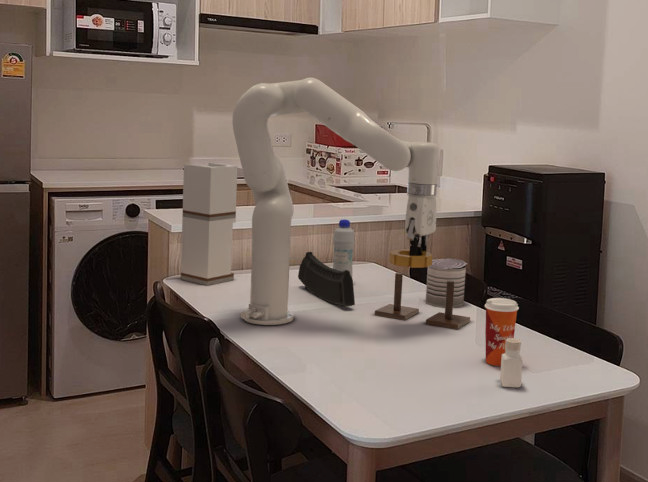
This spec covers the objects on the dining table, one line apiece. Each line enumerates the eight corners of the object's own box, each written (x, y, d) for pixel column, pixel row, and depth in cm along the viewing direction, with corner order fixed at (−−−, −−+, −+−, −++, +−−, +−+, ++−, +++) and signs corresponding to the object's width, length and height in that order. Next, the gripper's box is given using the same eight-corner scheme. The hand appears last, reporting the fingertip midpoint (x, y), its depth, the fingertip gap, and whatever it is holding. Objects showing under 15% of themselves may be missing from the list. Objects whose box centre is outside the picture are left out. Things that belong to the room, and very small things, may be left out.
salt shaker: (518, 381, 174) (521, 338, 173) (521, 388, 170) (524, 343, 169) (499, 381, 173) (502, 337, 173) (501, 387, 169) (504, 342, 169)
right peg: (457, 329, 211) (460, 286, 210) (425, 323, 214) (428, 281, 213) (470, 321, 219) (472, 280, 218) (438, 316, 223) (441, 275, 222)
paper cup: (487, 368, 181) (491, 306, 180) (476, 357, 189) (480, 297, 187) (520, 367, 184) (524, 305, 182) (508, 356, 191) (512, 297, 190)
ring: (420, 269, 202) (421, 259, 202) (383, 263, 206) (383, 253, 206) (437, 262, 212) (438, 253, 212) (401, 257, 216) (401, 247, 216)
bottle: (327, 283, 253) (330, 219, 251) (336, 279, 260) (339, 217, 258) (347, 286, 251) (350, 221, 250) (355, 282, 258) (359, 219, 256)
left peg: (404, 320, 217) (407, 278, 216) (374, 315, 220) (376, 273, 219) (418, 313, 225) (421, 272, 224) (389, 308, 229) (391, 268, 228)
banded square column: (233, 279, 252) (237, 166, 248) (207, 285, 243) (211, 167, 239) (207, 273, 258) (210, 162, 254) (180, 279, 249) (183, 164, 245)
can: (470, 306, 235) (473, 265, 234) (433, 308, 231) (436, 266, 230) (454, 297, 246) (456, 257, 245) (419, 298, 241) (421, 258, 240)
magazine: (360, 279, 222) (315, 230, 245) (350, 280, 220) (305, 230, 243) (349, 333, 227) (306, 280, 250) (338, 335, 225) (296, 281, 248)
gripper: (422, 194, 202) (417, 267, 204) (447, 189, 217) (442, 258, 219) (395, 191, 205) (390, 263, 207) (421, 186, 220) (417, 254, 222)
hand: (417, 260), depth 213 cm, fingers closed on ring, 2 cm apart
